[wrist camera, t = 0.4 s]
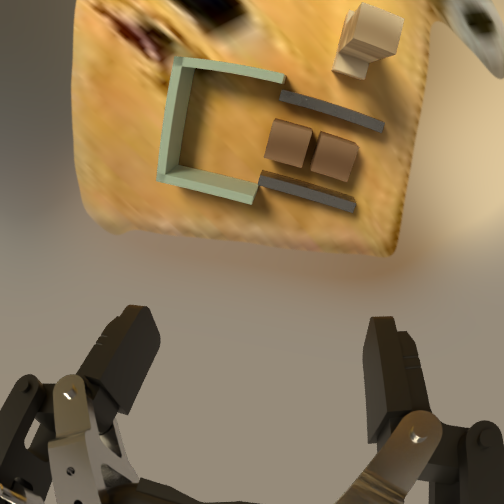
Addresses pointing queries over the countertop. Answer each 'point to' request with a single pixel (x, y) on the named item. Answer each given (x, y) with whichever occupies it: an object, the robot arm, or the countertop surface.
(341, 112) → the rail slot
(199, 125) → the countertop surface
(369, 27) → the birch scraper
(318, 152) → the walnut chip
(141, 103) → the countertop surface
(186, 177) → the tray
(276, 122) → the brown block
